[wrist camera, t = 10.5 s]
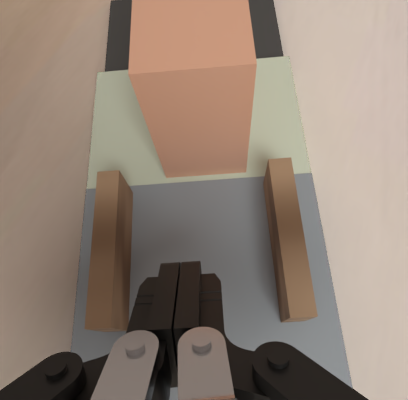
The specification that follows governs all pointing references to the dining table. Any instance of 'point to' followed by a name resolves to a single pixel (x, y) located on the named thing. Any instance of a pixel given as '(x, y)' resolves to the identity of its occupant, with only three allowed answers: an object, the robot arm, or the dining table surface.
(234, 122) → the clay block
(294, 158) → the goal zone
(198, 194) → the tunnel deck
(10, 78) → the dining table surface
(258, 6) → the mat
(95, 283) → the tunnel walls
